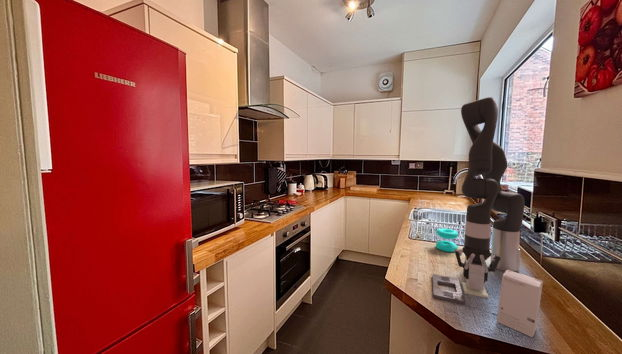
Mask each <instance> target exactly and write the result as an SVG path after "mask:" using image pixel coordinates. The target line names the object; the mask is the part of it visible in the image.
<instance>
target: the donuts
mask: <svg viewBox="0 0 622 354" xmlns="http://www.w3.org/2000/svg"><path fill="white" fill-rule="evenodd" d="M435 232H436V235H437V236H438V237H440V238H442V239H443V240H442V239H441V240H439V241H437V242H436V243H435V246H436V248H437V249H439V250H440V251H442V252H447V253H453V252H454V253H455V251H454V249H458V245H457V244H456V243H455V242H453V241H450V240H454V239H457V238H458V237H459V233H458V231H456V230H455V229H451V228H445V227H444V228H443V227H442V228H441V227H440V228H438V229H437V230H436V231H435ZM444 239H446V240H444ZM458 250H459V249H458Z"/></svg>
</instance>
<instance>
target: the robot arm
mask: <svg viewBox="0 0 622 354" xmlns="http://www.w3.org/2000/svg"><path fill="white" fill-rule="evenodd" d="M460 114H461V118H462V121H463V124H464V125H465V128H466V131H467V133H468V135H469V137H470V141H471V143H472V145H471V147H470V148H469V152H468V167H467V173H466V175H465V178H464V180H463V183H462V186H461V193H462V194H463V196H464V197H465V198H467V199H468V198H469V199H484V201H481V202H480V203H474V204H473V203H472V204H469V205H467V206H466V219H465V225H464V240H463V241H464V243H463V248H461V249H454V254H455V258H456V262H457V265H458V267H459V268H463V269H462V270H463V271H462V274H463V277H464V278H465V280H466V279H468V272H469V270H468V268H469V263H471V262H478V263H482V265H484V266H485V273H484V283H486V282H487V281H488V279H489V276H488V275H489V273H494V272H496V269H497V270H500V271H504V272H505V271H506V270H510V271H513V272H516V273H519V272H520V265H521V255H522V254H521V253H522V252H521V251H522V250H521V249H520V240H521V239H520V238H521V237H520V236H521V227H522V225H523V221H524V219H523V218H524V213H525V206H526V205H525V197H524V196H523V195H522V194H520V193H516V192H512V191H511V192H510V191H503V189H502V186H501V180H502V178H503V176H504V174H505V172H506V170H507V168H508V161H507V157H506V154H505V150H504V149H503V147H502V146H500V145H499V144H498V143H497V142H496V141H494V139H495V134H496V130H497V129H496V128H497V123H498V119H499V118H498V117H499V107H498V103H497V101H496V99H494V97H493V96H492V97H491V96H488V97H484V98H481V99H476V100H474V101H470V102H467V103H465V104H462V106H461V109H460ZM481 124H483V127H482V129H481V128H480V127H479V125H481ZM481 175H482V177H483V178H475V177H477V176H481ZM492 210H493V211H494V212H497V213H503V214H506V217H505V218H504V219H502V218H501V219H496V220H493V222H492V227H491V216H492ZM491 229H492V230H491ZM491 232H492V233H491ZM490 246H491V247H490ZM490 249H491V250H490ZM462 254H464V256H465V255H466V259H465V258H464V262H462V259H461V256H463V255H462ZM489 258H490V264H489V266H487V265H488V264H487V262H486V261H487V260H488V259H489Z"/></svg>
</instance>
